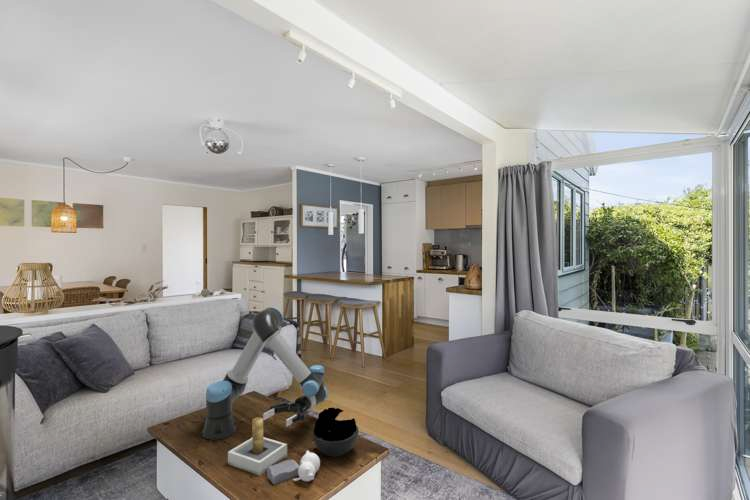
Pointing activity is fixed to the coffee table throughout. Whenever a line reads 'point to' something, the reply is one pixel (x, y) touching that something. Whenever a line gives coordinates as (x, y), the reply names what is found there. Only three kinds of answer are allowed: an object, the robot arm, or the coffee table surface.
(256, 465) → the hole box
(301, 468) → the cat figurine
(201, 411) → the coffee table surface
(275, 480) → the stone block
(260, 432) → the peg
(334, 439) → the coal bowl
